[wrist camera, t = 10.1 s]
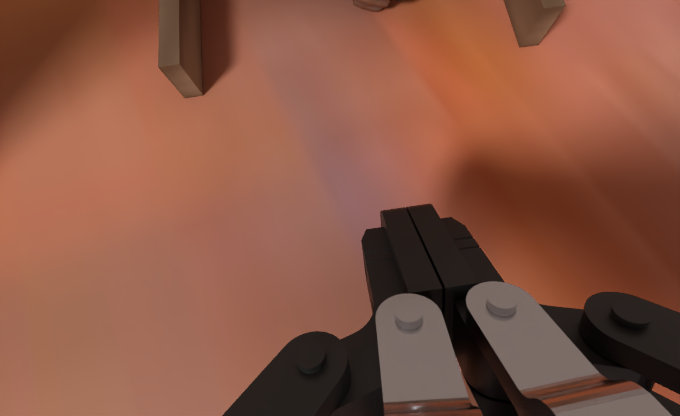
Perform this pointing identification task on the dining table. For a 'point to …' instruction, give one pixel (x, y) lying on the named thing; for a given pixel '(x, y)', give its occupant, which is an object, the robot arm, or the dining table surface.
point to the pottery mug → (372, 4)
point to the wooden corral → (186, 55)
